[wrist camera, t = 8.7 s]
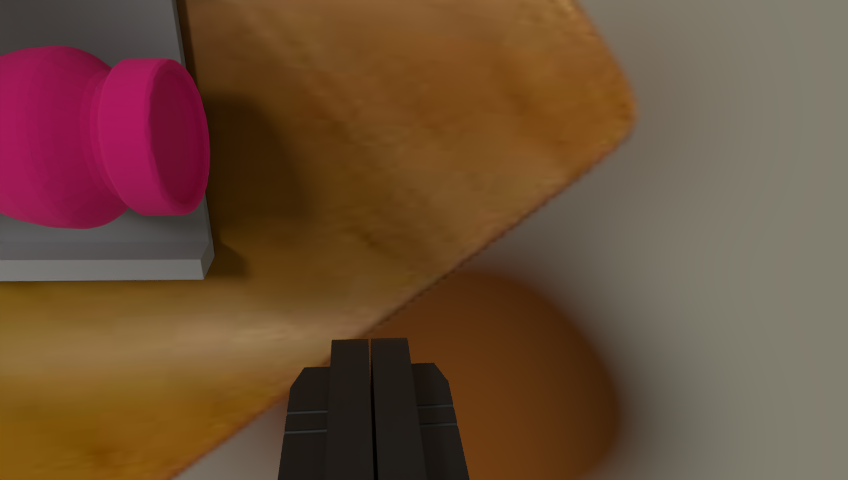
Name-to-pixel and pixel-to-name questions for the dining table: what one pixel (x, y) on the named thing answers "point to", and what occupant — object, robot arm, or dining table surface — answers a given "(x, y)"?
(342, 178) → the dining table surface
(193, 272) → the gray open-ended tray
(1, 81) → the pepper mill
